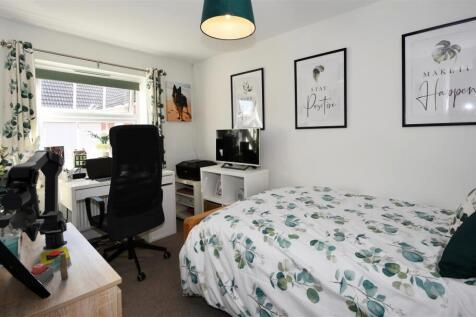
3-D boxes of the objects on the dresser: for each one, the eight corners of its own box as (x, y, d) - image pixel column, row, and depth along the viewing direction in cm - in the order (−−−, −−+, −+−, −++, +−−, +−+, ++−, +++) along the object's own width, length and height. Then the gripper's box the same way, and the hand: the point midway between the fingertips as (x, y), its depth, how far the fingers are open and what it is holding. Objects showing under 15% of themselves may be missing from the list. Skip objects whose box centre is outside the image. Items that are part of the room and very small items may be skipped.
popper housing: (39, 275, 92) (38, 266, 92) (53, 276, 92) (52, 266, 92) (26, 284, 87) (25, 274, 87) (41, 285, 87) (40, 275, 86)
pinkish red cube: (39, 271, 91) (38, 261, 91) (49, 272, 91) (48, 262, 91) (30, 278, 88) (28, 267, 87) (40, 278, 87) (39, 268, 87)
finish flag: (64, 276, 92) (61, 252, 90) (69, 276, 92) (66, 252, 90) (52, 286, 86) (49, 260, 85) (58, 286, 86) (55, 261, 85)
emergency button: (40, 264, 93) (38, 248, 104) (41, 275, 93) (40, 258, 105) (71, 255, 98) (66, 241, 110) (72, 266, 99) (67, 251, 111)
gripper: (-20, 211, 83) (-12, 256, 86) (48, 205, 88) (53, 248, 91) (1, 199, 94) (8, 240, 96) (61, 195, 98) (65, 234, 101)
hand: (33, 241), depth 96 cm, fingers closed
